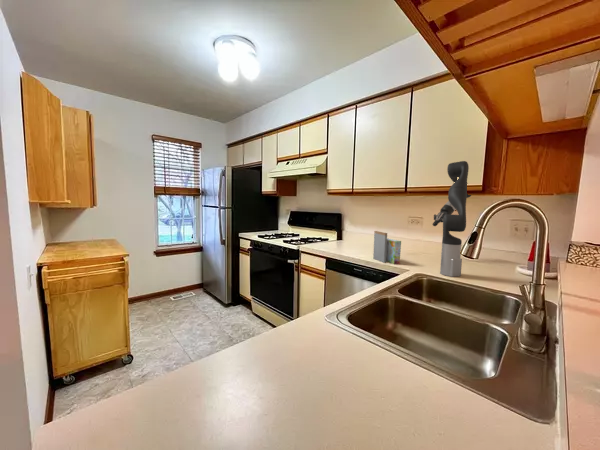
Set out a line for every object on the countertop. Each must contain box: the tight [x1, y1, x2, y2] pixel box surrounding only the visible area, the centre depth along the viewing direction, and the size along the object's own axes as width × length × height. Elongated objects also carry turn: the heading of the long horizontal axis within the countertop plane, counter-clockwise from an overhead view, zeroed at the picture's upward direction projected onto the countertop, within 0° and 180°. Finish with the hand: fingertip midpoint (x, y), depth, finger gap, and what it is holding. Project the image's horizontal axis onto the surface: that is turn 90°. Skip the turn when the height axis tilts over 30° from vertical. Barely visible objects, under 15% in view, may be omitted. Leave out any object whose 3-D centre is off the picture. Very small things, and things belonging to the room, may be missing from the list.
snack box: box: [386, 237, 402, 265], centre depth 176 cm, size 21×6×15 cm, turn 22°
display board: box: [372, 230, 388, 264], centre depth 175 cm, size 13×2×20 cm, turn 15°
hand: (433, 225), depth 181 cm, fingers closed
